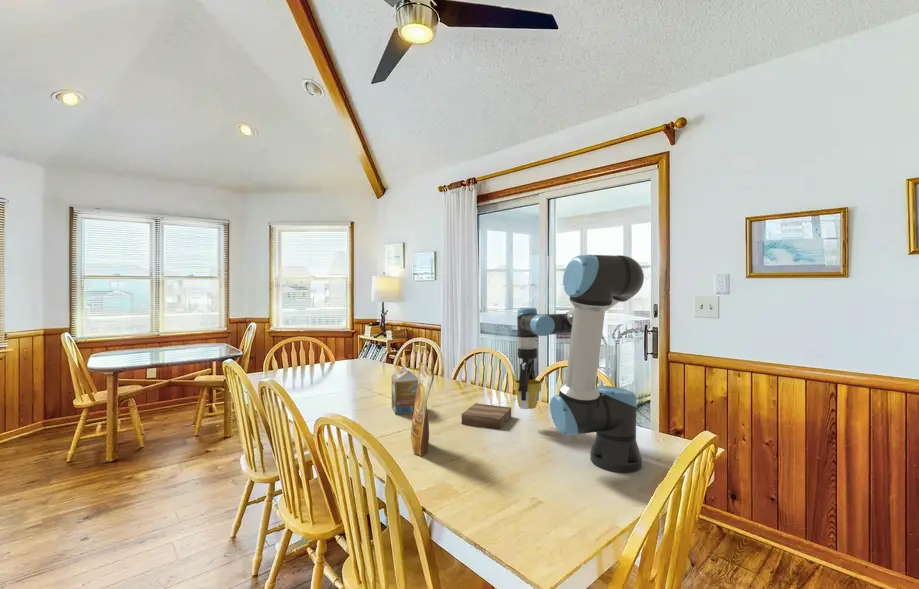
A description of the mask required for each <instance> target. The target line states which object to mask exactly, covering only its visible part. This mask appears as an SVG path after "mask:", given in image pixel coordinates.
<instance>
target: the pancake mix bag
mask: <svg viewBox="0 0 919 589" xmlns="http://www.w3.org/2000/svg"><path fill="white" fill-rule="evenodd" d="M417 378H418V387H417V393H416V399H415V405H414V412H413V413H412V421H411V430H410V440H411V441H410V442H411V446H412V450H413V454H414V455H417V456H420V457H422V456H425V455H426V454H427V453H428V451H429V444H430V442H429V441H430V424H429V414H428V406H427V405H428V398H429V394H430V391H431V388H432V385H433V382H434V380H435V374H434V372H433V371H432V370H431V369H430V368H429V367H428V366H427V365H426V364H425V363H423V362H422V361H419V362H418V377H417Z"/></svg>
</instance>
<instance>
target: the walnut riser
mask: <svg viewBox="0 0 919 589" xmlns="http://www.w3.org/2000/svg"><path fill="white" fill-rule="evenodd" d="M511 418H512V407H511V406H503V405H495V404H485V403H477V402H475V403H474V404H472V405H471V406H470V407H468V408H467V409H466V410H465V411H464V412H462V413H461V425H468V426H475V427H480V428H488V429H497V430H501V429H502V428H503V427H504V426H505V425H506V424H507V422H508V421H509V420H510V419H511Z"/></svg>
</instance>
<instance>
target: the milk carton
mask: <svg viewBox="0 0 919 589" xmlns="http://www.w3.org/2000/svg"><path fill="white" fill-rule="evenodd" d="M417 387H418V377H417V376H416V375H415V374H414V373H413V372H412V371H410V370H409V369H408V368H407V367H406V366H405V364H402V368H401V369H398V371H396V372H394V373H393V374H392V376H391V408H392V411H393V413H394V414H395V415H403V414H404V415H407V414H413V412H414V405H415V399H416V393H417Z"/></svg>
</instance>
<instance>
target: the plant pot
mask: <svg viewBox="0 0 919 589" xmlns="http://www.w3.org/2000/svg"><path fill="white" fill-rule="evenodd" d="M519 380H520V378H519V379H516V380H514V381H513V389H514V391H515V395H516V399H517V400H516V401H517V404H518V407H519V408H520V409H521V406H520V391H518V389H519ZM522 388H524V387H522ZM527 391H528V409H527V410H533V409H536V407H537V404H538V400H539V395H540V392H541V391H542V381H540V380H537V379H535V380H528V387H527Z"/></svg>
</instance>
